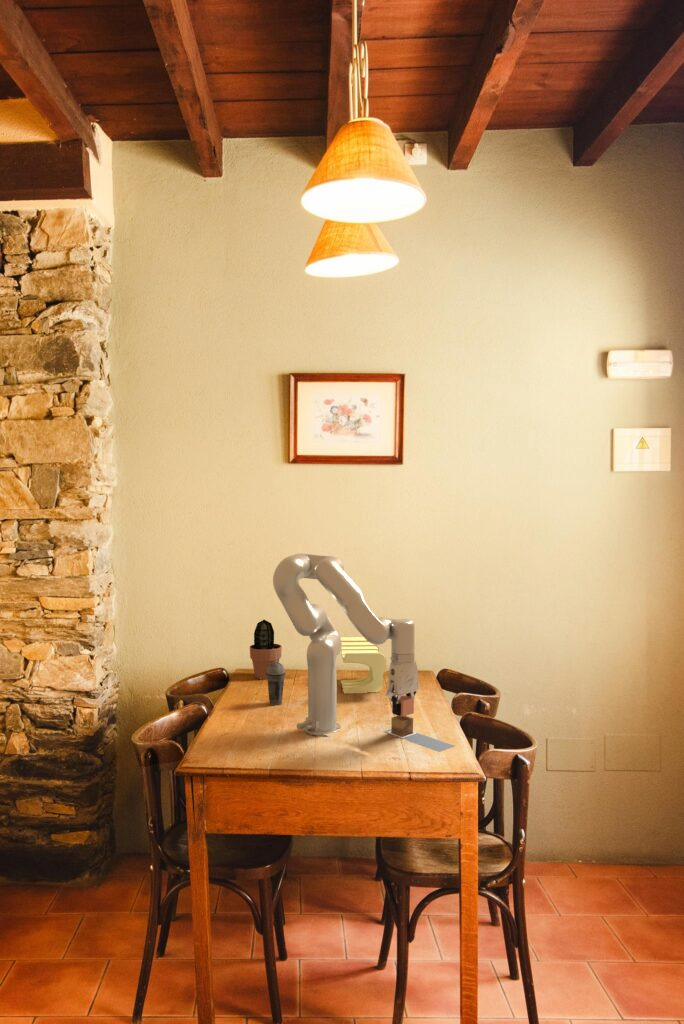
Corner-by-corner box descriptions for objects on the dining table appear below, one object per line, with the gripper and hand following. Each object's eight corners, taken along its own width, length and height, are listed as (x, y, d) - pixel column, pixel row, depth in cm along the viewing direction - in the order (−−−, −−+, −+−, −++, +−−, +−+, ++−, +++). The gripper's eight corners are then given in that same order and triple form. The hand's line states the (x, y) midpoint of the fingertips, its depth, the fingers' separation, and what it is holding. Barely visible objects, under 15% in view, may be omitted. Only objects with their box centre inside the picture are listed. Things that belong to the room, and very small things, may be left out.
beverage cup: (285, 700, 273) (286, 648, 272) (284, 706, 266) (285, 653, 265) (266, 700, 273) (266, 648, 272) (265, 706, 265) (265, 653, 265)
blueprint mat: (439, 755, 218) (439, 751, 218) (383, 734, 236) (383, 731, 236) (455, 749, 223) (455, 745, 223) (399, 729, 241) (399, 726, 241)
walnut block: (402, 736, 231) (402, 721, 231) (391, 732, 235) (391, 717, 235) (413, 733, 234) (413, 718, 234) (401, 729, 238) (401, 714, 238)
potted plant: (287, 675, 310) (288, 618, 309) (268, 682, 298) (268, 623, 298) (263, 671, 317) (263, 615, 316) (243, 678, 306) (243, 619, 305)
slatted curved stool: (386, 698, 276) (386, 652, 276) (345, 699, 275) (345, 653, 275) (377, 678, 306) (377, 636, 306) (339, 678, 305) (340, 637, 305)
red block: (403, 716, 231) (403, 701, 231) (392, 712, 235) (392, 697, 234) (413, 713, 234) (413, 698, 234) (402, 709, 238) (402, 694, 238)
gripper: (393, 663, 225) (393, 721, 226) (428, 655, 237) (428, 710, 237) (376, 659, 231) (376, 715, 231) (412, 651, 242) (411, 705, 243)
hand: (402, 712), depth 234 cm, fingers closed on red block, 4 cm apart
